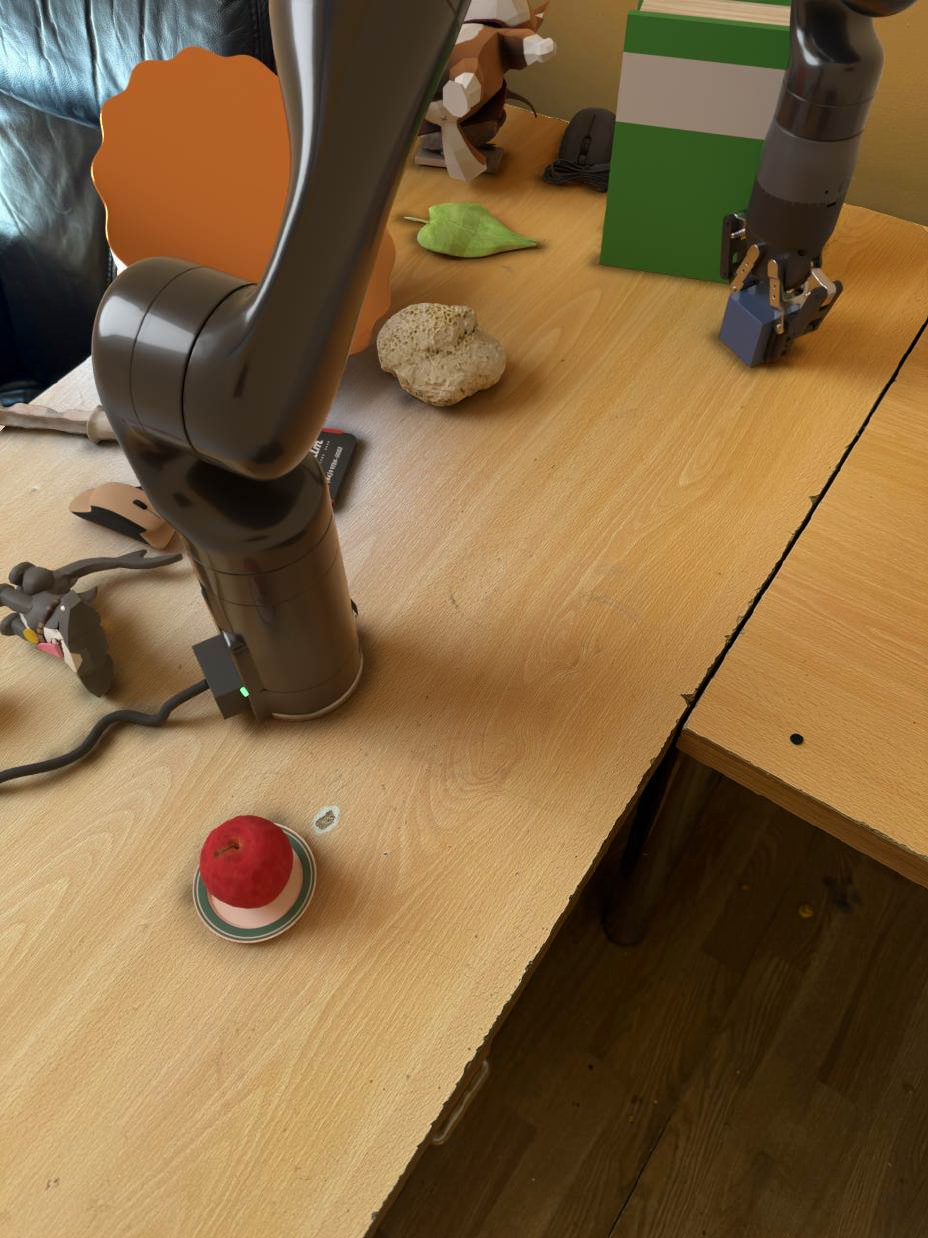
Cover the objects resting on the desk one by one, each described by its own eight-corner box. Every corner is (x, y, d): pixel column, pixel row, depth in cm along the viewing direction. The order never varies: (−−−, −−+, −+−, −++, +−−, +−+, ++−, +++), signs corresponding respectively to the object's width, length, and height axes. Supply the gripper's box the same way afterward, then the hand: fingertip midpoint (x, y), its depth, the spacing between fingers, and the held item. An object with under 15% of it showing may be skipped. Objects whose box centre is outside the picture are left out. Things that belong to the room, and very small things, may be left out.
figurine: (538, 157, 111) (542, 81, 104) (531, 178, 109) (534, 101, 102) (425, 144, 113) (421, 68, 106) (414, 164, 111) (410, 87, 104)
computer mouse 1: (112, 467, 83) (97, 433, 80) (207, 503, 80) (195, 470, 77) (64, 517, 80) (46, 484, 76) (161, 557, 77) (147, 525, 74)
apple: (170, 914, 60) (140, 879, 55) (236, 808, 64) (214, 765, 59) (278, 966, 58) (257, 934, 53) (339, 852, 62) (325, 812, 57)
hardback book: (599, 264, 99) (627, 13, 80) (612, 224, 103) (642, -23, 84) (768, 289, 96) (841, 36, 77) (775, 248, 100) (846, -3, 81)
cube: (750, 367, 89) (762, 324, 85) (717, 338, 92) (728, 294, 88) (791, 350, 91) (805, 307, 87) (758, 322, 93) (771, 278, 89)
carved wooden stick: (264, 438, 85) (257, 416, 83) (251, 468, 83) (244, 446, 81) (11, 406, 88) (-2, 384, 86) (-8, 435, 86) (-21, 413, 84)
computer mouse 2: (640, 128, 115) (644, 96, 112) (628, 195, 107) (632, 162, 103) (558, 122, 116) (560, 89, 113) (540, 187, 108) (541, 154, 105)
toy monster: (-88, 531, 62) (22, 571, 59) (112, 529, 79) (207, 560, 75) (-111, 734, 65) (-7, 784, 61) (86, 691, 81) (177, 728, 78)
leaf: (418, 201, 106) (416, 185, 105) (546, 230, 102) (546, 213, 100) (383, 249, 102) (380, 233, 101) (515, 280, 98) (515, 264, 96)
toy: (287, 48, 93) (392, -24, 113) (350, 231, 105) (435, 137, 125) (508, -11, 84) (580, -77, 104) (550, 197, 96) (607, 101, 116)
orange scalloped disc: (358, 74, 89) (270, 160, 103) (55, 20, 71) (-1, 132, 85) (421, 369, 91) (327, 414, 105) (142, 386, 74) (74, 437, 88)
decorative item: (356, 386, 82) (368, 282, 84) (384, 425, 91) (394, 330, 93) (491, 385, 80) (501, 278, 82) (507, 426, 88) (515, 328, 90)
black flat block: (330, 510, 79) (273, 502, 80) (331, 515, 80) (275, 507, 80) (359, 432, 84) (306, 425, 85) (360, 438, 85) (307, 431, 86)
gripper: (713, 145, 80) (679, 313, 94) (826, 231, 73) (771, 399, 86) (783, 123, 82) (739, 290, 96) (900, 203, 74) (834, 372, 88)
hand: (754, 341), depth 91 cm, fingers closed on cube, 5 cm apart
